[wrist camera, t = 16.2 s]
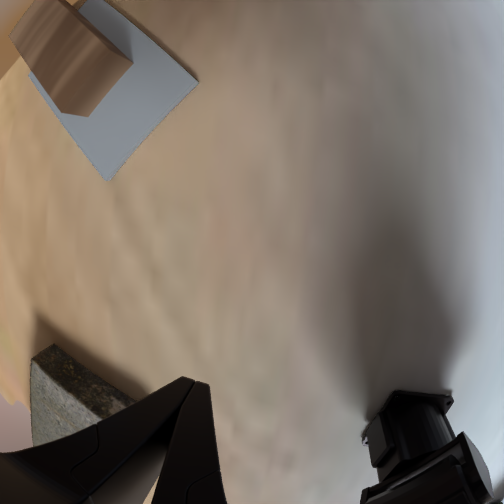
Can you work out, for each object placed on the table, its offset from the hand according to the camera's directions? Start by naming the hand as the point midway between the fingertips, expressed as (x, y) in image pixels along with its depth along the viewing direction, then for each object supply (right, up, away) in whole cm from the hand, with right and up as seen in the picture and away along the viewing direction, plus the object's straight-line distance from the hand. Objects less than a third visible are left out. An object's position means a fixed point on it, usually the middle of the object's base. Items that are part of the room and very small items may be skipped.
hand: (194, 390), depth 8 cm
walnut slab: (-8, +15, +8) cm, 19 cm away
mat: (-10, +17, +10) cm, 22 cm away
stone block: (-16, -16, +20) cm, 30 cm away
